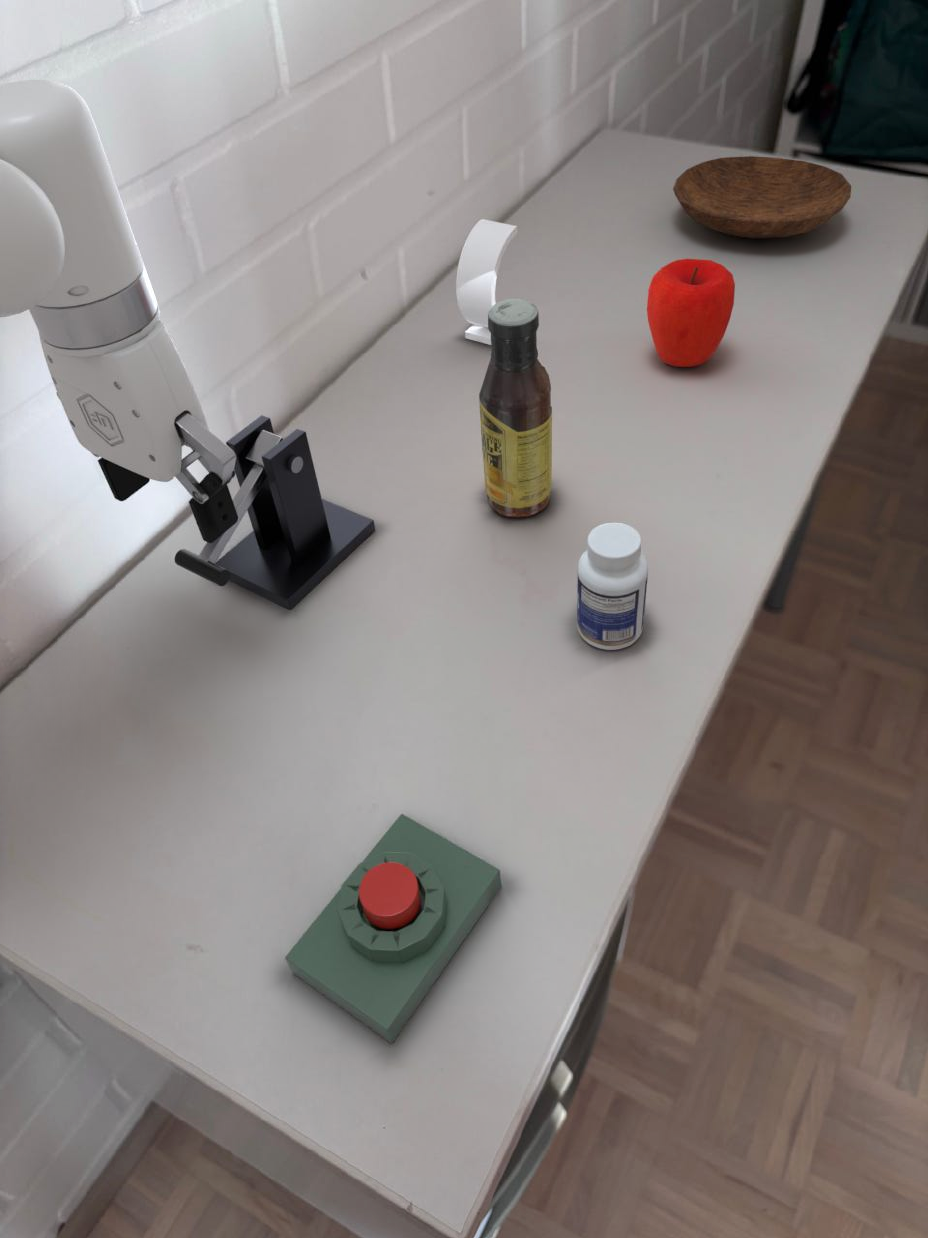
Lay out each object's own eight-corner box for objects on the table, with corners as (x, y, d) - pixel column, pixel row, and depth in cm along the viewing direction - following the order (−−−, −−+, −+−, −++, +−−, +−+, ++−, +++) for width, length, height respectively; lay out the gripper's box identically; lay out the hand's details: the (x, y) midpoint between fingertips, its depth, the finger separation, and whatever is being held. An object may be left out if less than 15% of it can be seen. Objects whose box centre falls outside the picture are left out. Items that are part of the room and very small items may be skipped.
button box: (392, 1044, 56) (382, 1018, 53) (291, 972, 60) (277, 944, 57) (501, 886, 63) (498, 855, 60) (405, 829, 66) (398, 798, 63)
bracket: (290, 610, 82) (255, 494, 72) (216, 573, 86) (174, 459, 76) (375, 529, 88) (353, 414, 79) (303, 499, 92) (274, 385, 83)
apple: (665, 391, 100) (674, 295, 92) (629, 351, 106) (634, 258, 98) (740, 371, 101) (755, 275, 94) (700, 332, 107) (711, 239, 99)
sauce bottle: (482, 484, 92) (467, 292, 77) (546, 475, 92) (543, 282, 77) (491, 528, 87) (476, 333, 73) (558, 519, 87) (557, 323, 73)
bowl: (826, 270, 115) (835, 229, 111) (651, 247, 122) (653, 208, 119) (856, 202, 126) (864, 164, 123) (694, 185, 134) (697, 148, 130)
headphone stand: (521, 326, 111) (517, 226, 102) (494, 351, 108) (488, 249, 99) (487, 318, 113) (481, 218, 104) (460, 342, 110) (451, 241, 101)
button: (397, 940, 57) (393, 927, 55) (351, 910, 58) (346, 897, 57) (432, 893, 59) (429, 880, 57) (386, 865, 60) (383, 851, 59)
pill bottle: (597, 595, 80) (600, 507, 73) (654, 619, 78) (663, 530, 71) (564, 635, 77) (564, 547, 70) (622, 662, 75) (628, 573, 68)
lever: (227, 591, 77) (211, 580, 75) (184, 569, 79) (167, 558, 77) (308, 456, 79) (294, 441, 77) (264, 439, 81) (250, 424, 79)
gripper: (-37, 301, 62) (65, 503, 74) (142, 369, 54) (222, 580, 67) (54, 251, 66) (137, 451, 78) (233, 308, 58) (292, 518, 71)
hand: (176, 510), depth 72 cm, fingers open, 9 cm apart
